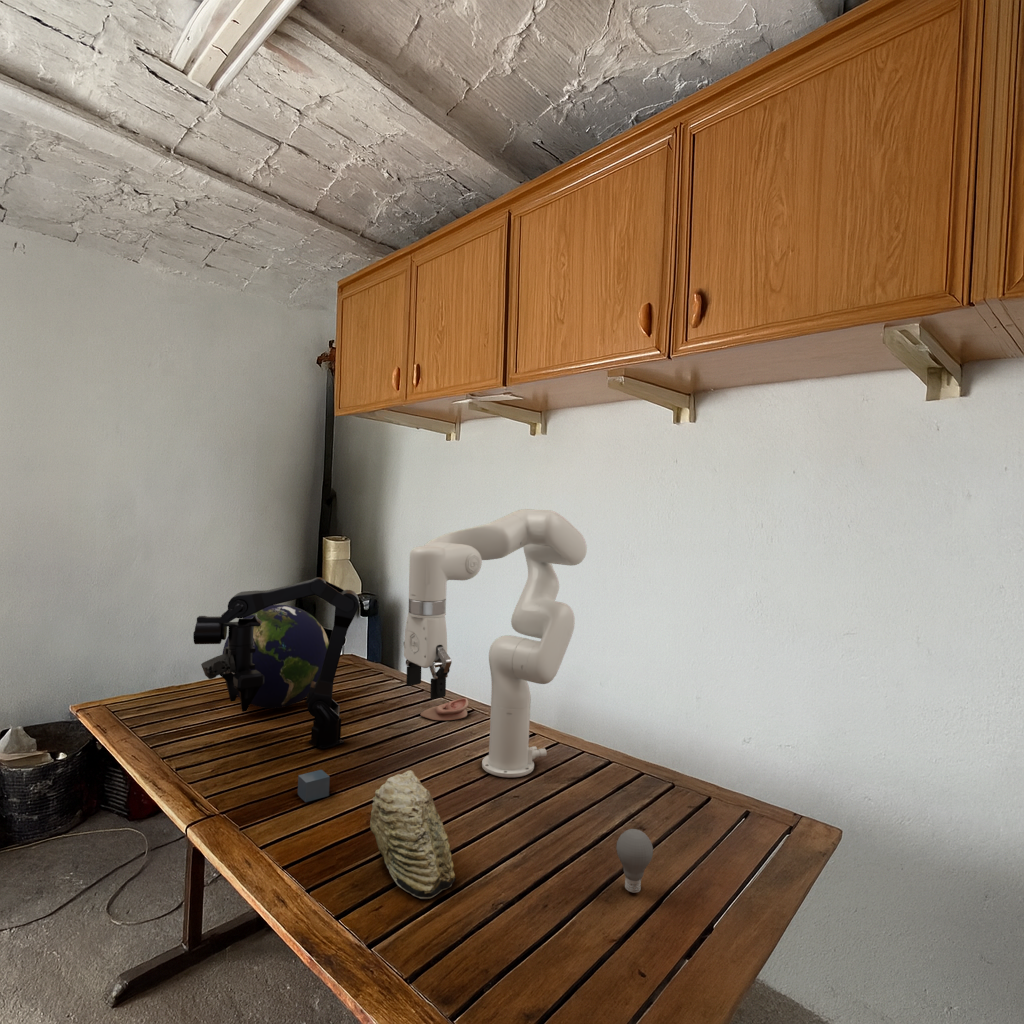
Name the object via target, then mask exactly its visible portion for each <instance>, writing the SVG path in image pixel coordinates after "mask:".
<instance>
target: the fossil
mask: <svg viewBox="0 0 1024 1024" xmlns="http://www.w3.org/2000/svg"><path fill="white" fill-rule="evenodd" d="M374 794H375V796H373V797H372V804H371V806H372V809H371V812H370V821H369V827H370V832H371V833H372V834H373V836H374V837H375V842H376V845H377V848H378V851H379V853H380V854H381V856H382V857H383V860H384V864H385V866H386V868H387V869H388V872H389V874H390V876H391V878H392V880H393V881H394V882H395V884H396V885H397V886H398V887H399V888H400V889H401V890H403V891H404V892H407V893H408V894H411V896H413V897H415V898H418V899H420V900H428V899H429V900H430V899H432V898H435V896H437V895H438V894H440V893H441V892H442V891H444V890H447V889H449V888H451V887H452V885H453V883H454V882H455V881H456V874H455V871H454V866H455V864H454V861H453V860H452V858H453V857H452V852H451V845H450V843H449V842H450V841H449V836H448V834H447V832H446V829H445V827H444V823H443V821H442V818H441V816H440V815H439V812H438V810H437V807H436V804H435V801H434V799H433V796H432V795H431V791H430V790H428V789H426V787H425V786H424V785H423V784H422V782H421V780H420V779H419V777H417V776H416V774H415V772H414V771H413V770H411V769H410V770H407V771H405V772H403V773H402V774H401V773H397V774H395V775H394V776H390V777H388V778H387V779H386V781H385V783H383V784H382V785H381V786H380V788H378V789H376V790H375V792H374Z"/></svg>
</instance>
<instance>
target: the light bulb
mask: <svg viewBox="0 0 1024 1024" xmlns="http://www.w3.org/2000/svg"><path fill="white" fill-rule="evenodd" d="M615 849H616V854H617V857H618V859H619V861H620V863H621V865H622V867H623V873H624V874H623V875H624V876H625V878H624V888H625V890H627V891H628V892H630V893H634V894H635V893H639V892H640V891H641V889H642V887H641V886H642V879H643V877H644V875H645V871H646V868H647V867H648V866H649V864H650V863H651V861H652V859H653V855H654V847H653V843H652V841H651V838H649V836H648V835H647V834H646V833H645V832H643V831H642V830H641V829H636V828H629V829H627V830H625V831H623V832H622V833H621V834H620V835H619V837H618V839H617V841H616V847H615Z"/></svg>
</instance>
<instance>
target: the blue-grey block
mask: <svg viewBox="0 0 1024 1024" xmlns="http://www.w3.org/2000/svg"><path fill="white" fill-rule="evenodd" d="M330 779H331V776H330V775H329V774H328V773H326V772H325V771H324V770H323V769H318V770H314V771H313V770H312V771H310V772H306V773H302V774H298V776H297V796H298V797H299V798H300V799H301V800H302V801H304V803H309V802H312V801H317V800H319V799H322V798H327V797H329V796H330V781H331V780H330Z"/></svg>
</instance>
